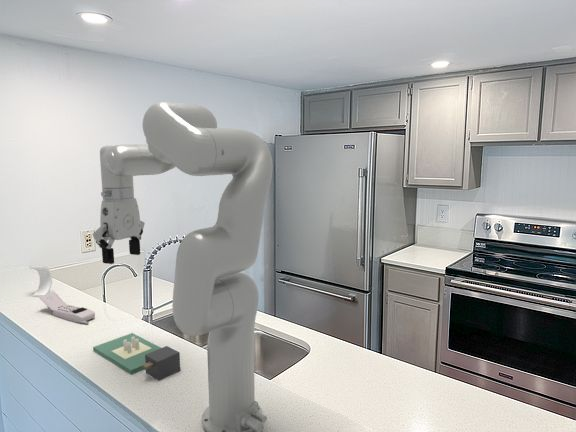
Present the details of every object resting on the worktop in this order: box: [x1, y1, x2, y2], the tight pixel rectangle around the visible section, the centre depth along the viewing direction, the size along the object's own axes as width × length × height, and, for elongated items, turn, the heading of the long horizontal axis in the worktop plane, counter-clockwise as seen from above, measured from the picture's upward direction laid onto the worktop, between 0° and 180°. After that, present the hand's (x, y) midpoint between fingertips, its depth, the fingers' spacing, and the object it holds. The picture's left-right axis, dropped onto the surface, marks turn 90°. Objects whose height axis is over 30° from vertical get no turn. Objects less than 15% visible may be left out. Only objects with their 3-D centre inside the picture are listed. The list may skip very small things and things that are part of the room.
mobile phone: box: [38, 291, 96, 325], centre depth 145 cm, size 6×6×25 cm
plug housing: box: [142, 345, 181, 382], centre depth 107 cm, size 6×8×5 cm, turn 140°
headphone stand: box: [29, 265, 53, 298], centre depth 165 cm, size 5×6×12 cm
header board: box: [92, 332, 162, 375], centre depth 117 cm, size 20×12×4 cm, turn 50°
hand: (122, 258), depth 112 cm, fingers open, 9 cm apart
